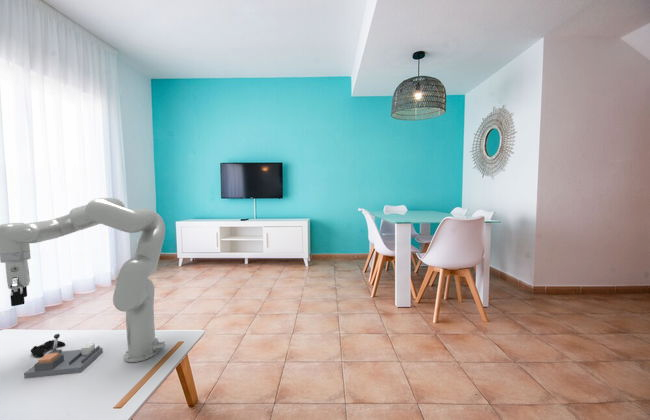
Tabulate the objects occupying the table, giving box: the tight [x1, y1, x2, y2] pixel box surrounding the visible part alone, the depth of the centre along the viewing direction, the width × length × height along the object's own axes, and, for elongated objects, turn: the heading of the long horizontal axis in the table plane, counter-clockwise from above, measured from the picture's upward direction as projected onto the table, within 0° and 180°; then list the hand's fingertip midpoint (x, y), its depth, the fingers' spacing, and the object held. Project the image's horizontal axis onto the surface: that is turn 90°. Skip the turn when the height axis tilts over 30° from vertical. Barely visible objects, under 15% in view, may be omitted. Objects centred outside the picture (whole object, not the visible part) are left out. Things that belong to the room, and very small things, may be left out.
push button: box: [37, 352, 59, 364], centre depth 103 cm, size 4×4×2 cm
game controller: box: [30, 339, 66, 359], centre depth 117 cm, size 10×5×7 cm
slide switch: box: [80, 343, 96, 355], centre depth 111 cm, size 3×3×3 cm
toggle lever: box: [52, 333, 61, 351], centre depth 111 cm, size 2×2×6 cm
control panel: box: [23, 345, 104, 379], centre depth 107 cm, size 18×13×5 cm
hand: (19, 301), depth 103 cm, fingers open, 9 cm apart
